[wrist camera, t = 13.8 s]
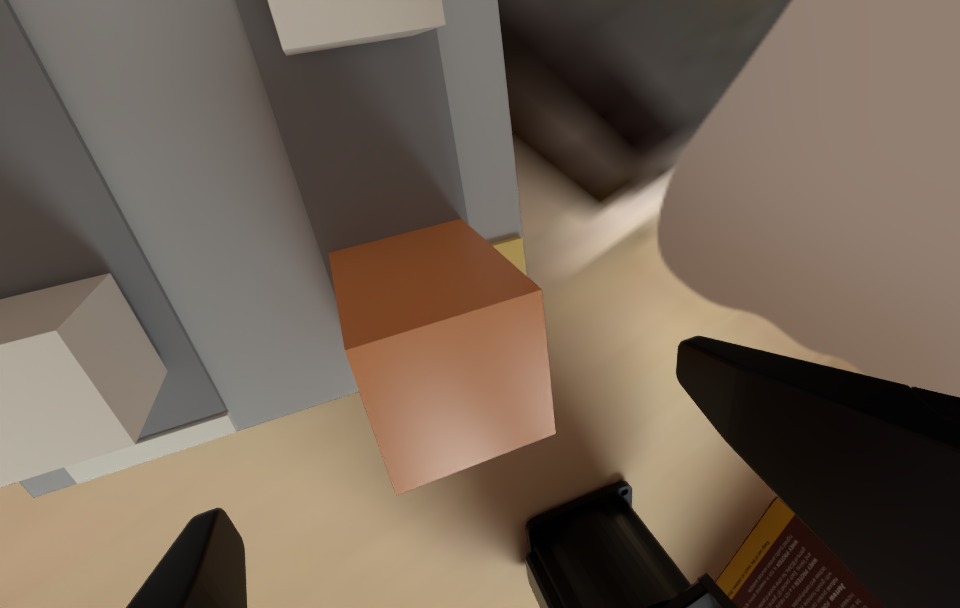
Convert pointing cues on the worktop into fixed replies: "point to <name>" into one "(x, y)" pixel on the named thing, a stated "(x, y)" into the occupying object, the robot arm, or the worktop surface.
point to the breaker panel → (236, 185)
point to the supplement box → (790, 569)
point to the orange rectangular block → (443, 350)
